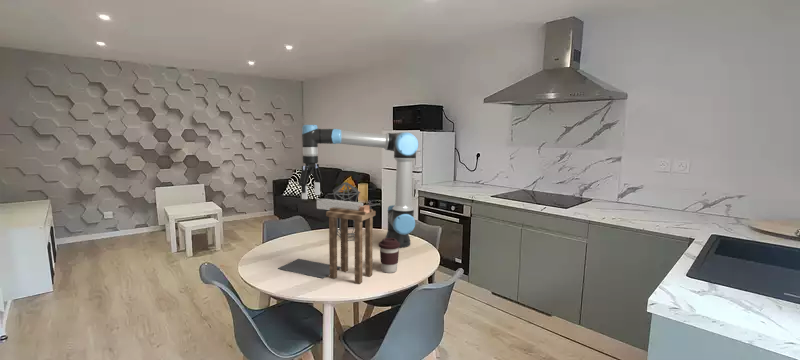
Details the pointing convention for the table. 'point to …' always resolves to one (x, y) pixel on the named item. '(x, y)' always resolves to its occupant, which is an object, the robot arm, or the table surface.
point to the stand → (345, 214)
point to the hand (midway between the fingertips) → (311, 196)
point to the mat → (308, 268)
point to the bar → (338, 204)
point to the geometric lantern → (343, 200)
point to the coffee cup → (389, 254)
